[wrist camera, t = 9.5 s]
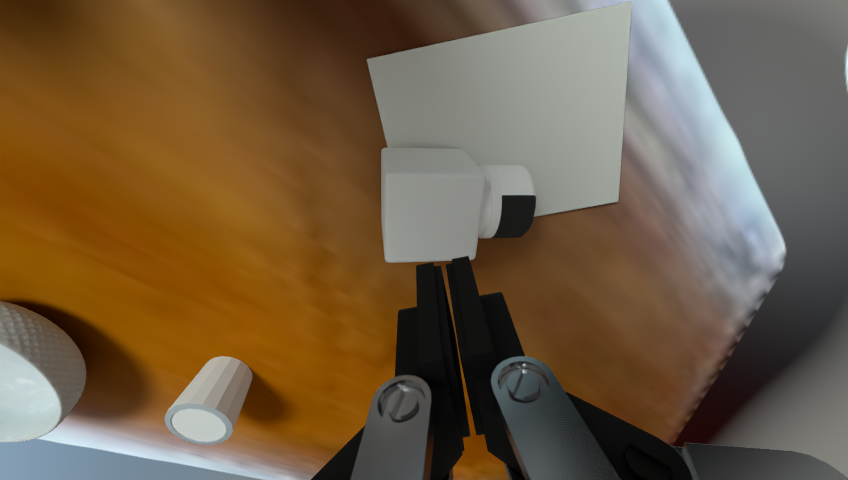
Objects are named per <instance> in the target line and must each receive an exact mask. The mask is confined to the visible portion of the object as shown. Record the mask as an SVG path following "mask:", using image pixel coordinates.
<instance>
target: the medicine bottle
mask: <svg viewBox="0 0 848 480" xmlns="http://www.w3.org/2000/svg"><path fill="white" fill-rule="evenodd" d="M535 208H536V193H535V186H534V182H533V179H532V176H531V174H530V173H529V171H528V170H527V169H526V168H525V167H523V166H521V165H479V166H478V165H477V164H476V163H475V162H474V161H473V160H472V159H471V158H470V157H469V156H468V154H467V153H466V152H465V151H464V150H463V149H442V148H383V149H382V150H381V222H382V234H383V245H384V256H385V261H387V262H389V263H396V262H428V261H452V259H454V258H459V257H465V256H469V259H470V260H473V259H474V258H475V256H476V249H477V242H478V237H479V238H516V237H521V236H523V235H524V234H525V233H526V232H527V231H528V230H529V228H530V226H531V224H532V221H533V218H534V213H535Z"/></svg>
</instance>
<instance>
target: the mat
mask: <svg viewBox="0 0 848 480" xmlns="http://www.w3.org/2000/svg"><path fill="white" fill-rule="evenodd" d="M631 10H632V2H627V3H622V4H618V5H613V6H609V7H604V8H599V9H595V10H590V11H586V12H581V13H576V14H572V15H567V16H563V17H558V18H553V19H549V20H544V21H540V22H535V23H531V24H526V25H521V26H517V27H512V28H508V29H503V30H498V31H494V32H489V33H485V34H480V35H475V36H471V37H466V38H462V39H457V40H452V41H448V42H443V43H439V44H434V45H429V46H425V47H420V48H416V49H411V50H407V51H402V52H397V53H393V54H388V55H384V56H379V57H374V58H370V59H367V63H368V67H369V72H370V76H371V80H372V84H373V88H374V93H375V97H376V101H377V105H378V109H379V113H380V118H381V122H382V126H383V130H384V134H385V139H386V143H387V147H388V148H442V149H463V150H464V151H465V152H466V153H467V154H468V156H469V157H470V158H471V159H472V160H473V161H474V162H475V163H476V164H477V165H478V166H479V165H521V166H523V167H525V168H526V169H527V170H528V171H529V173H530V174H531V176H532V179H533V182H534V186H535V193H536V208H535V213H534V217H535V216H541V215H546V214H552V213H557V212H563V211H568V210H574V209H580V208H585V207H591V206H596V205H602V204H607V203H613V202H618V197H619V182H620V168H621V154H622V139H623V125H624V111H625V96H626V82H627V67H628V53H629V39H630V24H631Z"/></svg>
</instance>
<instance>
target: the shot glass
mask: <svg viewBox="0 0 848 480" xmlns="http://www.w3.org/2000/svg"><path fill="white" fill-rule="evenodd" d="M252 379H253V378H252V371H251V370H250V368H249V367H248V366H247V365H246V364H245V363H243V362H242V361H240V360H238V359H235V358H232V357H224V356H221V357H216V358H213V359H211V360H210V361H208V362H207V363H206V364H205V366H204V367H203V368H202V369H201V371H200V372H199V373H198V374H197V375H196V377H195V378H194V379H193V380H192V382H191V383H190V384H189V385H188V386H187V388H186V389H185V390H184V391H183V393H182V394H181V395H180V396H179V397H178V399H177V400H176V401H175V402H174V404H173V405H172V406H171V407H170V408H169V410H168V411H167V413H166V415H165V418H164V419H165V423H166V426H167V428H168V429H169V430H170V431H171V432H172V433H173V434H174V435H176V436H177V437H179V438H181V439H183V440H185V441H188V442H191V443H194V444H202V445H213V444H219V443H222V442H223V441H225V440H227V439H229V437H230V436H231V434H232V432H233V430H234V427H235V425H236V422H237V419H238V416H239V414H240V411H241V408H242V406H243V403H244V400H245V398H246V395H247V392H248V389H249V387H250V384H251V381H252Z"/></svg>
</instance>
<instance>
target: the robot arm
mask: <svg viewBox="0 0 848 480" xmlns="http://www.w3.org/2000/svg"><path fill="white" fill-rule="evenodd" d="M446 269H447V275H448V282H449V288H450V295H451V301H452V308H453V314H454V320H455V327H456V333H457V340H458V346H459V352H460V358H461V363H462V368H463V373H464V378H465V382H466V387H467V392H468V397H469V402H470V406H471V411H472V416H473V421H474V425H475V430H476V435H482V434H485V439H486V444H487V449H488V451H489V452H490V453H492V454H493V455H494V456H496V457H497V458H499V459H500V460H501V461H503V462H504V466H505V470H506V473H507V475H508V478H509V480H848V478H847V477H846V476H845V475H843V474H842V473H841V472H839V471H838V470H836V469H835V468H833V467H832V466H830V465H829V464H828V463H826V462H824V461H821V460H819V459H817V458H815V457H812V456H810V455H807V454H803V453H798V452H793V451H784V450H771V449H758V448H745V447H733V446H721V445H707V444H696V443H684V446H683V447H672V446H670V445H668V444H667V443H665V442H664V441H662V440H660V439H659V438H657V437H655V436H653V435H651V434H649V433H647V432H645V431H643V430H641V429H639V428H637V427H635V426H633V425H631V424H629V423H627V422H625V421H623V420H621V419H619V418H617V417H615V416H613V415H611V414H609V413H607V412H605V411H603V410H601V409H599V408H597V407H595V406H593V405H591V404H589V403H587V402H585V401H583V400H581V399H579V398H577V397H575V396H573V395H571V394H569V393H567V392H565V391H564V389H563V387H562V386H561V384H560V383H559V381H558V380H557V378H556V376H555V375H554V373H553V372H552V371H551V370H550V368H549V367H548V366H547V365H546V364H544V363H542V362H541V361H539V360H537V359H534V358H531V357H525V355H524V352H523V349H522V346H521V344H520V341H519V338H518V335H517V333H516V330H515V327H514V324H513V322H512V319H511V316H510V313H509V311H508V308H507V305H506V302H505V300H504V297H503V294H502V293H501V292H498V293H493V294H487V295H481V296H479V293H478V289H477V285H476V282H475V278H474V274H473V270H472V267H471V263H470V259H469V256H465V257H459V258H454V259H452V264H446ZM416 280H417V307H413V308H408V309H402V310H399V311H398V325H397V345H396V365H395V377H394V378H392V379H390V380H388V381H387V382H385V383H384V384H383V385H381V387H380V388H379V389H378V390H377V391H376V393H375V395H374V397H373V399H372V402H371V406H370V410H369V413H368V417H367V421H366V424H365V426H364V427H363V428H362V429H361V430H360V431H359V432H358V433H357V434H356V435H355V436H354V437H353V438H352V439H351V440H350V441H349V442H348V443H347V444H346V445H345V446H344V447H343V448H342V449H341V450H340V451H339V452H338V453H337V454H336V455H335V456H334V457H333V458H332V459H331V460H330V461H329V462H328V463H327V464H326V465H325V466H324V467H323V468H322V469H321V470H320V471H319V472H318V473H317V474H316V475H315V476H314V477H313V478H312V479H311V480H453V466H454V465H455V464H456V462H457V461H458V460H459V458H460V457H461V456H462V451H464V443H463V437H469V436H470V431H469V424H468V418H467V411H466V404H465V397H464V391H463V384H462V377H461V371H460V364H459V357H458V351H457V344H456V337H455V332H454V327H453V322H452V317H451V312H450V308H449V303H448V298H447V293H446V289H445V284H444V279H443V274H442V270H441V266H435V267H434V263H433V262H432V263H427V264H421V265H417V266H416Z"/></svg>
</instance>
